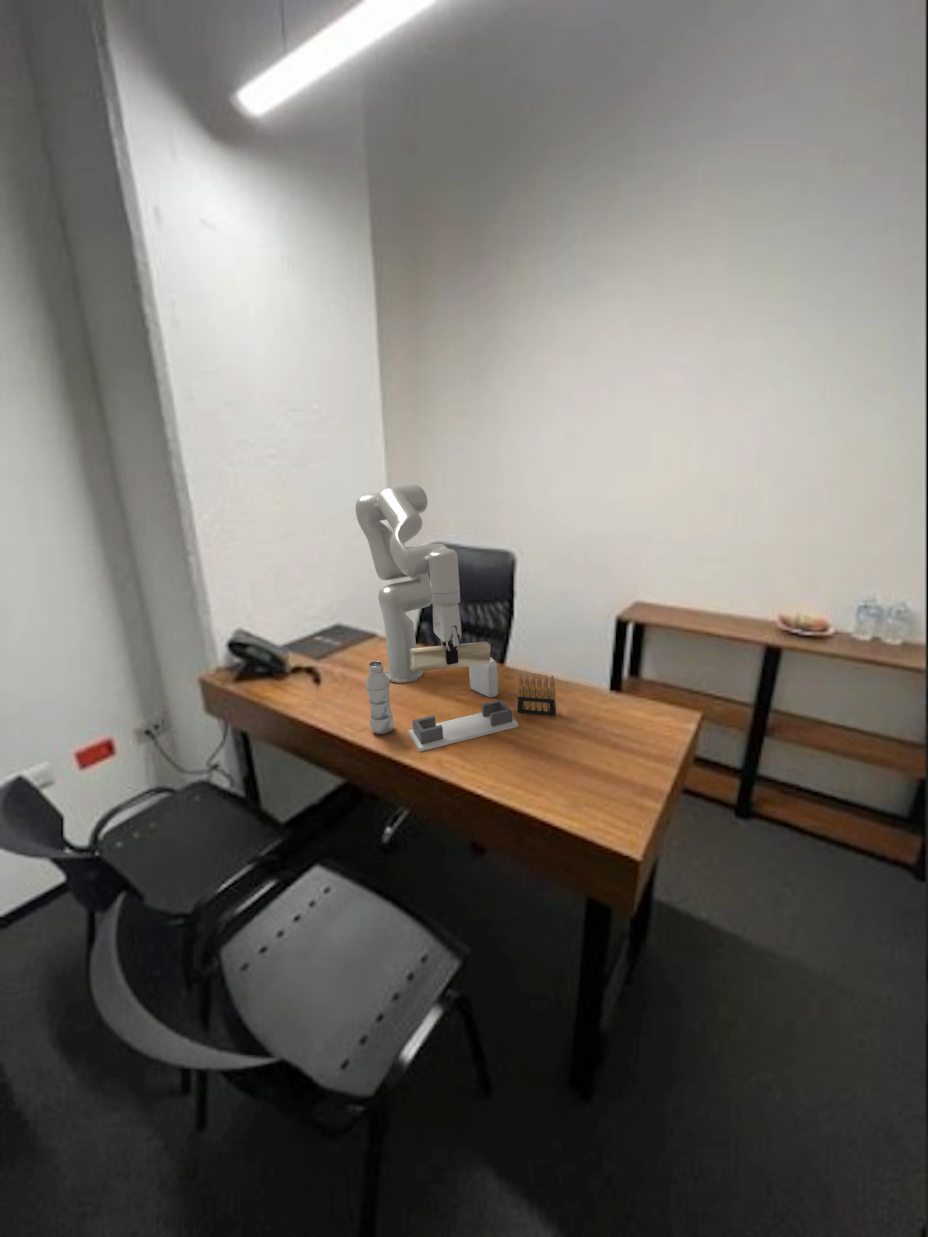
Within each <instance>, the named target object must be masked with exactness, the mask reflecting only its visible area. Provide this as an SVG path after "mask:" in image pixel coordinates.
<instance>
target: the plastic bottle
mask: <svg viewBox="0 0 928 1237" xmlns="http://www.w3.org/2000/svg"><path fill="white" fill-rule="evenodd" d="M368 672H369V674H368V675H367V677H366V680H365V688H366V691H367V694H368V700H369V706H370V709H369V710H370V718H369V725H370V728H371V731H372V732H373V733H375V734H377V735H384V734H388V733H390V732H391V731H392V730H393V728H394V726H395V725H394V724H395V719H394V717H393V716H394V715H393V713H392V710H391V702H390V686H391V685H390V683H391V682H390V681H389V678H388V676H387V675H386V674H385V673H386V672H384V666H383V662H382V661H380V660H375V661H370V662H369V663H368Z"/></svg>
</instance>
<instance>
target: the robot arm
mask: <svg viewBox="0 0 928 1237" xmlns="http://www.w3.org/2000/svg"><path fill="white" fill-rule="evenodd" d="M427 508H428V497H427V493H426V492H425V490H424V489H423V488H422V487H421V486H420V485H417V484H409V485H408V484H406V485H399V486H390V487H386V488H384V489H383V490H382V491H380V492H374V493H368V494H364V495H362V496H360V497H359V498H357V500H356V502H355V515H356V519H357V522H358V524H359V527H360V529H361V530H362V532H363V534H364V536H365V537H366V540H367V543H368V545H369V549H370V550H369V551H370V554H371V557H372V562H373V565H374V568H375V572H376V575H377V577H378V578H379V579H380V580H382V581H392V580H398V579H404V578H408V577H409V578H410V579H411V580H406V581H400V582H395V583H391V584H386V585H385V586H383V587H381V588H380V590H379V592H378V597H377V598H378V603H379V607H380V611H381V613H382V618H383V626H384V633H385V642H386V643H385V645H386V651H387V654H386V655H387V663H388V664H387V665H388V669H387V670H386V671H385V672H384V673H385V674H386V675H387V676H388V678H389V681H391V682H390V683H393V682H395V684H407V682H408V683H412V682H415V681H417V680H420V678H422V677H423V676H424V675H423V674H424V671H419V672H413V671H412V670H411V668H410V649H413V648H417V642H416V641H417V640H416V630H415V623H414V622H413V620H412V618H410V617H409V616H408V615H407V614H406V613H409V612H411V611H416V610H419V609H424V608H427V607H429V606H431V605H432V627H433V629H432V630H433V633H434V634H435V635H436V636H437V638H438V639H440V646H444V645H446V646H447V651H446V662H447V664H448V665H450V664H455V663H458V646H459V644H460V642H459V641H460V640H461V638H462V622H461V615H460V607H459V604H460V602H461V593H460V591H461V590H460V575H459V560H458V553H457V551H456V550H454V549H452V548H448V546H446V545H445V544H444V543H433V544H424V545H419V546H405V544H406V543H407V542H408V541H410V540H411V539H413V538H414V537H416V536H417V535H418V534H419V532H420V531H421V530H422V527H423V518H422V516H421V515H420V514H421V513H423V512H425V511H426V509H427ZM381 521H387V522H388V524H389V526H390V527H391V528H392V529H390V528H389V527H388V526H387V525H386V524H384V523H383V522H381ZM392 530H393V531H392Z"/></svg>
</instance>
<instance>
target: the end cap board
mask: <svg viewBox="0 0 928 1237" xmlns="http://www.w3.org/2000/svg"><path fill="white" fill-rule="evenodd" d="M518 727H519V723H518V721H517V720H516V719H515V718H514V717H513V710H512V709H511V707H510V706H509V705H508V704H507V703H506V702H505V701H503V699H497V700H493V701H489V702H484V703H481V712H478V713H474V714H470V715H466V716H461V717H457V718H453V719H450V720H444V721H440V722H437V723H436V716H435V715H429V716H425V717H420V718H417V719H412V729H408V734H409V737H410V738H411V740H412V742H413V743H414V745H415V747H416V748H417V750H418V752H425V751H428V750H432V749H436V748H440V747H443V746H447V745H451V744H455V743H459V742H463V741H467V740H471V739H475V738H476V739H477V738H479V737H482V736H488V735H490V734H491V735H492V734H494V733H499V732H502V731H506V730H511V729H514V728H518Z"/></svg>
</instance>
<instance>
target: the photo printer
mask: <svg viewBox="0 0 928 1237" xmlns="http://www.w3.org/2000/svg"><path fill="white" fill-rule="evenodd" d="M468 673H469V677H468V678H469V686H470V689H471V690H473V691H474V692H477V693H479V694H481V695H483V696H485V697H488V698H495V697H497V696H498V694H499V677H498V676H499V674H498V663H497V661H496V660H495V659H494V658H493V657H491V656H490V664H482V665H473V666H468Z"/></svg>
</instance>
